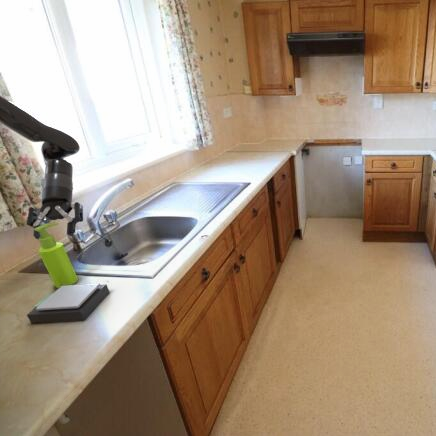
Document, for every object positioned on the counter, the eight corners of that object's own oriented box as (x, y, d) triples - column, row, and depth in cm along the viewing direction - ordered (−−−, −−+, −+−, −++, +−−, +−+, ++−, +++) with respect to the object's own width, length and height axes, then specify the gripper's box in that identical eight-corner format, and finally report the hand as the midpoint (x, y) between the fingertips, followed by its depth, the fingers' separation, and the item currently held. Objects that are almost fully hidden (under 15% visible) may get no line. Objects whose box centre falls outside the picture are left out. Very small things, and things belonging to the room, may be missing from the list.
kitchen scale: (29, 323, 86) (23, 311, 84) (61, 295, 97) (56, 284, 95) (84, 320, 86) (78, 308, 85) (109, 292, 97) (105, 281, 96)
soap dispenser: (85, 277, 105) (61, 222, 96) (62, 290, 99) (34, 232, 91) (74, 274, 107) (50, 219, 99) (51, 285, 102) (23, 229, 93)
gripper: (24, 187, 100) (18, 236, 95) (76, 182, 103) (73, 229, 98) (40, 197, 107) (36, 244, 101) (88, 192, 110) (86, 236, 105)
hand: (54, 236), depth 100 cm, fingers open, 8 cm apart
